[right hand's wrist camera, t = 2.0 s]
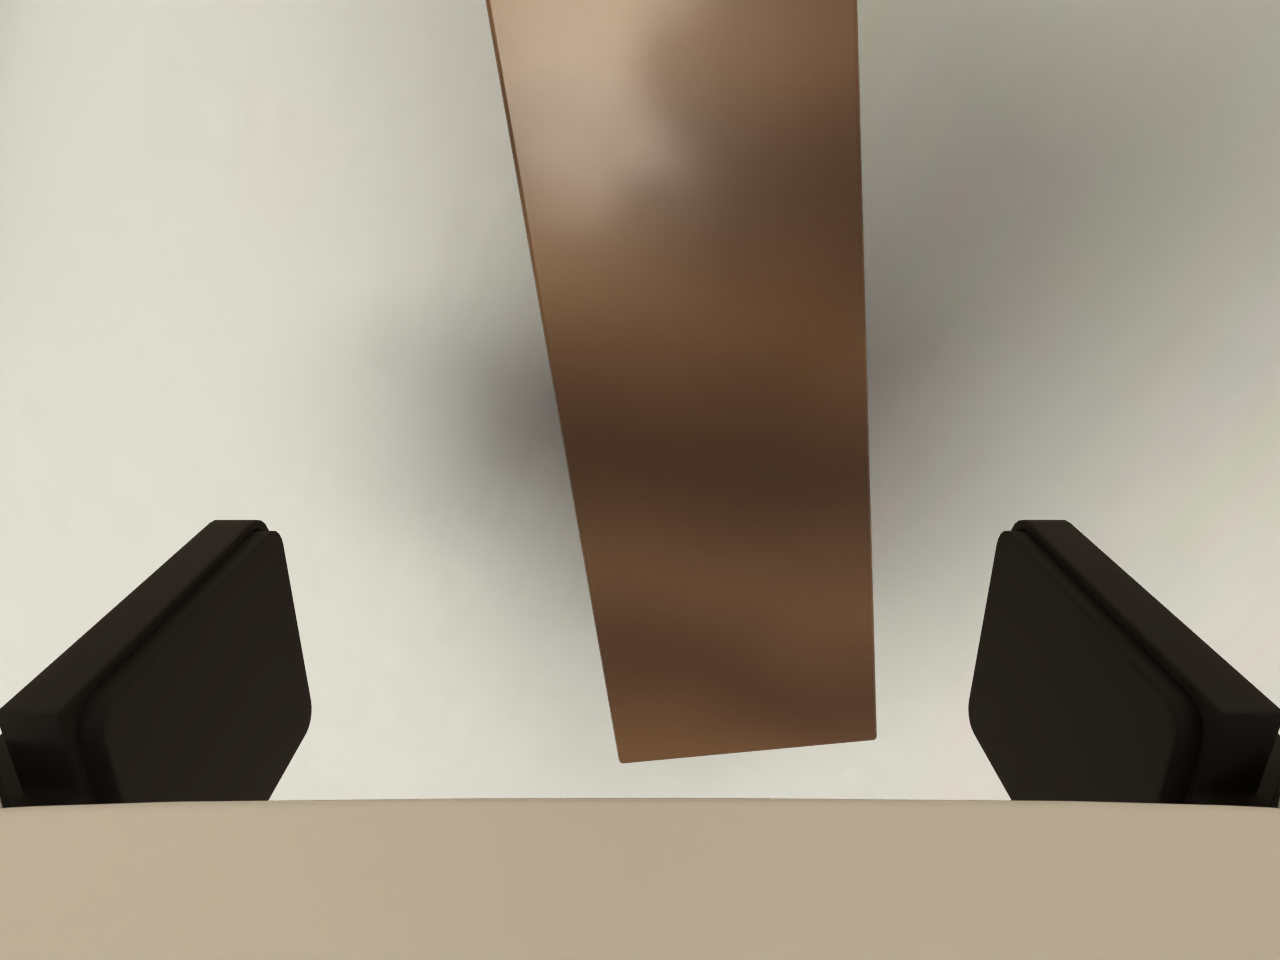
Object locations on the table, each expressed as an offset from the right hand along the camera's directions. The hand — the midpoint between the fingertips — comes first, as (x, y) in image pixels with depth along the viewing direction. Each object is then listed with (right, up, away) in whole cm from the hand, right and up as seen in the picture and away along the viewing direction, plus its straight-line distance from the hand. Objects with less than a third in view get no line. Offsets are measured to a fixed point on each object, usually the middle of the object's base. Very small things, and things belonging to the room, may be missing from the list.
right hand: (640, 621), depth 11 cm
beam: (-2, +31, +2) cm, 31 cm away
